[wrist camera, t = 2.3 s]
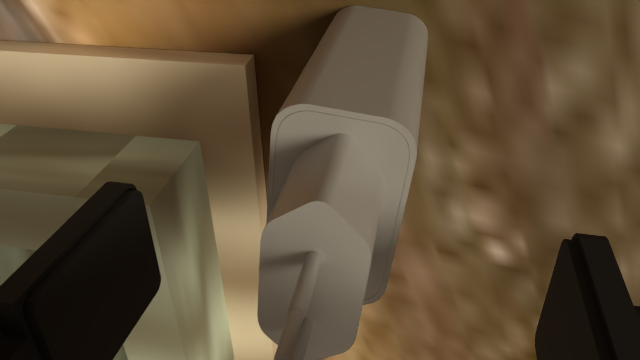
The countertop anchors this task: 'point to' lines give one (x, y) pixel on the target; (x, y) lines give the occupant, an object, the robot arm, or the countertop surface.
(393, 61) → the power adapter
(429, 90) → the countertop surface
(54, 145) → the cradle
